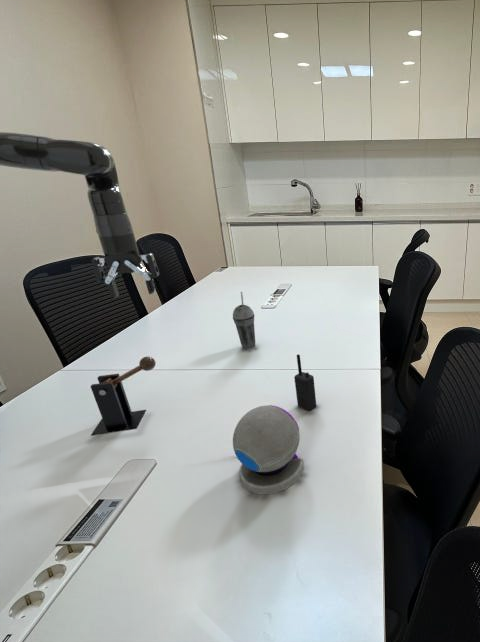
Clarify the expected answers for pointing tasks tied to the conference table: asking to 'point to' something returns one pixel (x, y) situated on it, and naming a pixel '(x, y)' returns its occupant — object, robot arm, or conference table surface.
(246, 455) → the webcam
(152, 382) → the conference table surface
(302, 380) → the walkie-talkie
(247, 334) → the beverage cup
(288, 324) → the conference table surface
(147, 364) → the lever
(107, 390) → the bracket
